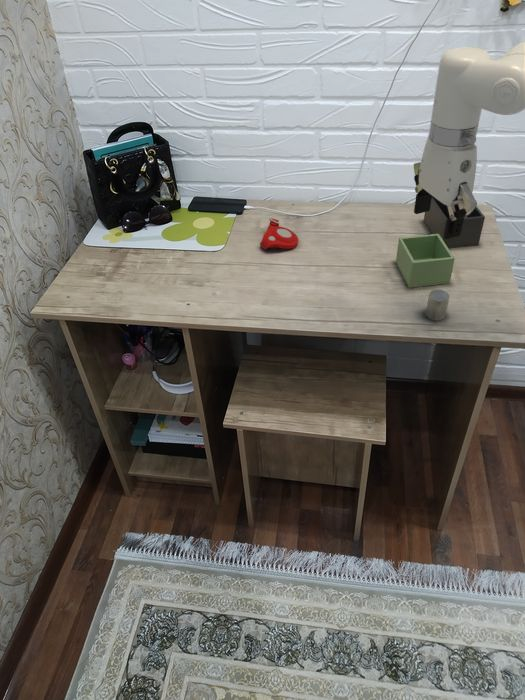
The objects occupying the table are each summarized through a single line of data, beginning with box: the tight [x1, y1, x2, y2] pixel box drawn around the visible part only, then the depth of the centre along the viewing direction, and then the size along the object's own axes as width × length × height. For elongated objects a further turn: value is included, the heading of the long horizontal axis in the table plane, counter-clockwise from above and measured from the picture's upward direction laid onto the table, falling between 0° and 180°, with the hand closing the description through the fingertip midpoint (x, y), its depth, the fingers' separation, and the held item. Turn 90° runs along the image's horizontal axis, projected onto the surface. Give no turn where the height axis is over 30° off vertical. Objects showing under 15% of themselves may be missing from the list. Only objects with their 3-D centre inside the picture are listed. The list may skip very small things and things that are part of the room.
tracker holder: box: [259, 218, 299, 250], centre depth 142 cm, size 12×4×10 cm
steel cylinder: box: [425, 289, 450, 322], centre depth 117 cm, size 4×4×5 cm
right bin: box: [423, 196, 486, 249], centre depth 139 cm, size 13×9×8 cm
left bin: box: [395, 233, 456, 289], centre depth 128 cm, size 10×9×7 cm
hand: (436, 224), depth 106 cm, fingers open, 9 cm apart
